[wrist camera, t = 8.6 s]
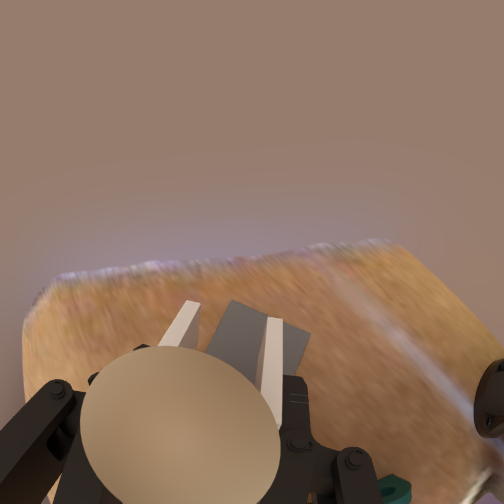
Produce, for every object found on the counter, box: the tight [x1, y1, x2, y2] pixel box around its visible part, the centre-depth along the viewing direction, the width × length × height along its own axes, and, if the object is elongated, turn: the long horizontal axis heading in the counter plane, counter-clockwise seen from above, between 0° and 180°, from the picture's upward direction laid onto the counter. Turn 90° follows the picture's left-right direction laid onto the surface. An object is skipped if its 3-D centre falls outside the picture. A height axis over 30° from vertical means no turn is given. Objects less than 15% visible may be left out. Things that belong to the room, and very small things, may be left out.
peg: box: [80, 346, 281, 504], centre depth 10 cm, size 4×4×14 cm
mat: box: [205, 300, 311, 386], centre depth 32 cm, size 11×11×1 cm
